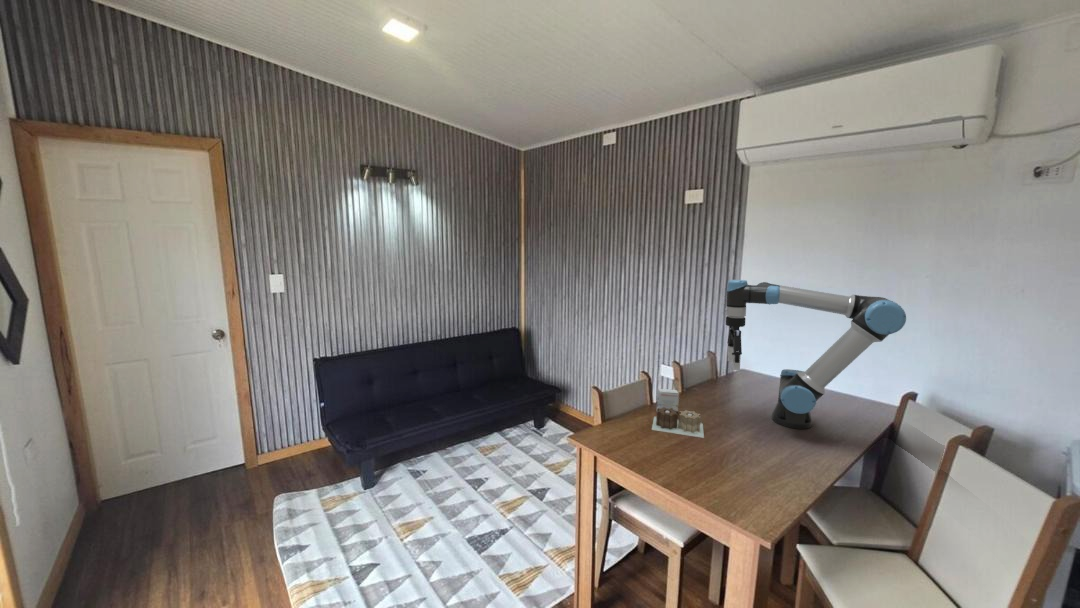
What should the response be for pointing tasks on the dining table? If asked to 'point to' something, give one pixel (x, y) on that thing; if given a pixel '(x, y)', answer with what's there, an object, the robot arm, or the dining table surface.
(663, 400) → the ink box
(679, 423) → the gear
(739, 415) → the dining table surface
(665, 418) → the gear
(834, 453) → the dining table surface
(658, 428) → the gear board
